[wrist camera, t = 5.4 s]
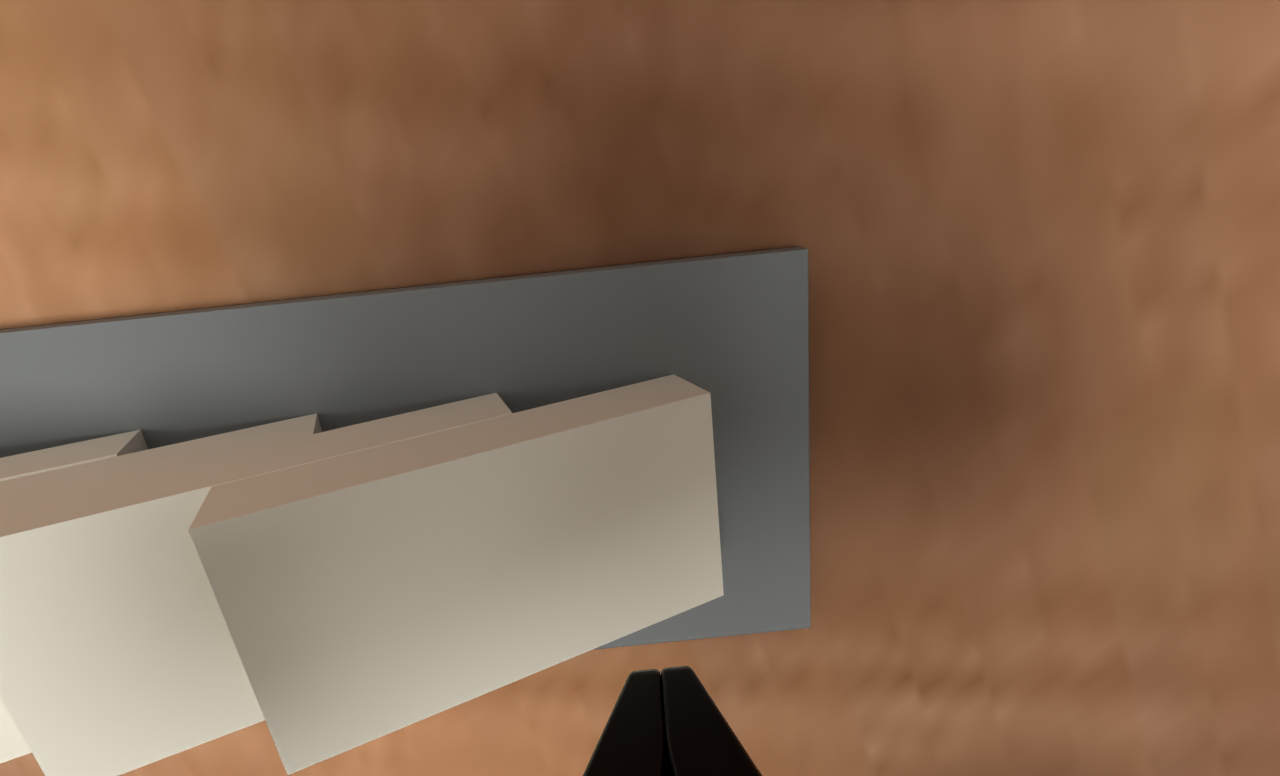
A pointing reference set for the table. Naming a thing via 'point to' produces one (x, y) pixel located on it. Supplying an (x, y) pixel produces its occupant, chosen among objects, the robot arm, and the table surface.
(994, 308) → the table surface
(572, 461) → the domino
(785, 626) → the mat
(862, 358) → the table surface
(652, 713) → the robot arm
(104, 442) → the domino
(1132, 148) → the table surface
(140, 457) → the domino
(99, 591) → the domino
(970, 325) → the table surface
